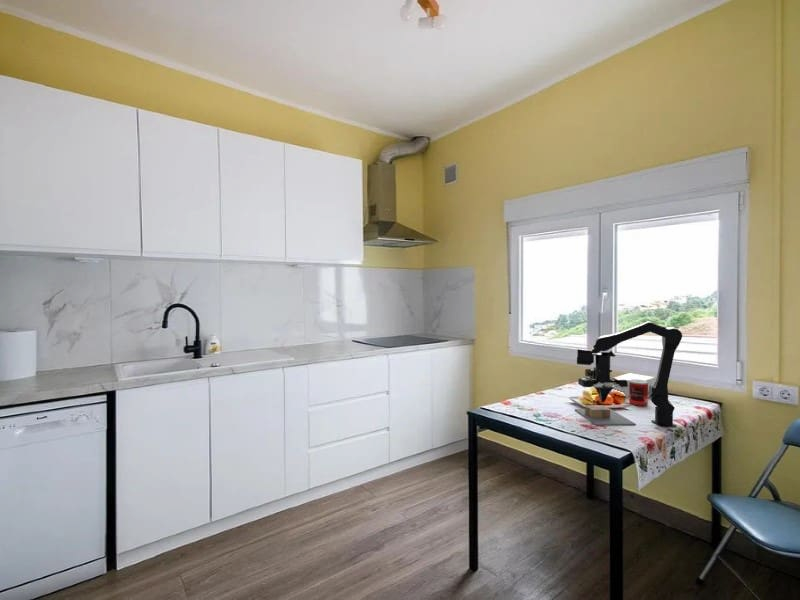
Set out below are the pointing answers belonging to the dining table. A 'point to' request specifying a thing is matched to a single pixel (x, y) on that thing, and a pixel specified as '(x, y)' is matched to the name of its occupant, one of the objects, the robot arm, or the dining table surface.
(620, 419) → the mat
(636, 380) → the canned food
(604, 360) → the robot arm
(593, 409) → the block
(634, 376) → the supplement box
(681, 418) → the dining table surface
